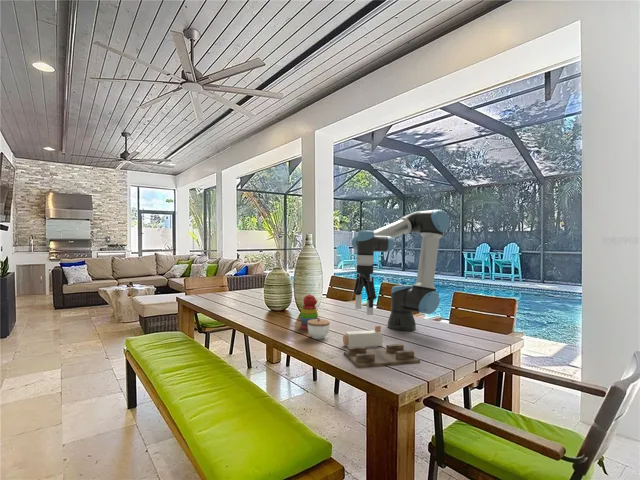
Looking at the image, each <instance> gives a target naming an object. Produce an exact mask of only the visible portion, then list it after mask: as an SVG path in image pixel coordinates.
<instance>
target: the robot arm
mask: <svg viewBox="0 0 640 480" xmlns="http://www.w3.org/2000/svg"><path fill="white" fill-rule="evenodd" d="M449 228H450V219H449V216H448V214H447V213H446V212H445V210H442V209H430V210H428V209H427V210H418V211H414V212H411V213H409V214H406V215H404V216H402V217H400V218H398V220H397V221H394V222H392V223H390V224H387V225H385V226H382V227H380V228H377V229H375V230H359V231H358V232H357V235H355V236H353V238H352V239H351V247H352V248H353V249H354V250H355V251H356V258H355V259H356V264H357V265H356V279H355V284H354V288H353V293H354V295H355V305H354V306H355V310H360V309H362V301H363V300H362V297H363V296H362V295H363V292H362V291H363V289H365V293H366V296H367V298H366V315H367V316H373V315H374V300H376V299H377V293H376V289H375V282H374V276H371V275H372V274H374V261H375V260H374V259H375V256H374V254H375V252H378V253H380V252H383V253H387V252H391V251H392V250H393V249H394V247H395V241H394V239H395V238H397V237H399V236H402V235H408V234H410V233H419V235H420V236H421V237H422V238H421V244H420V245H421V246H420V251H419V253H420V254H419V259H418V260H419V261H418V268H417V274H416V282H414V283H413V284H408V285H406V284H404V285H401V284H400V285H394V286H392V288H391V292H390V314H389V318H388V320H387V328H388V329H391V330H395V331H405V332H406V331H407V332H408V331H413V330H416V329H417V324H416V320H415V318H414V314H413V312H417V313H420V314H427V315H431V314H433V313H434V312H436V311H437V309H438V307H439V305H440V301H441V299H440V297H439V296H440V295H439V293H437V292H436V291H437V288H436V287H435V283H434V282H435V277H436V276H435V275H436V270H437V269H436V266H437V260H438V252H439V245H440V240H441V238H443V237H444V233H445V232H447V231H448V230H449Z"/></svg>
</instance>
